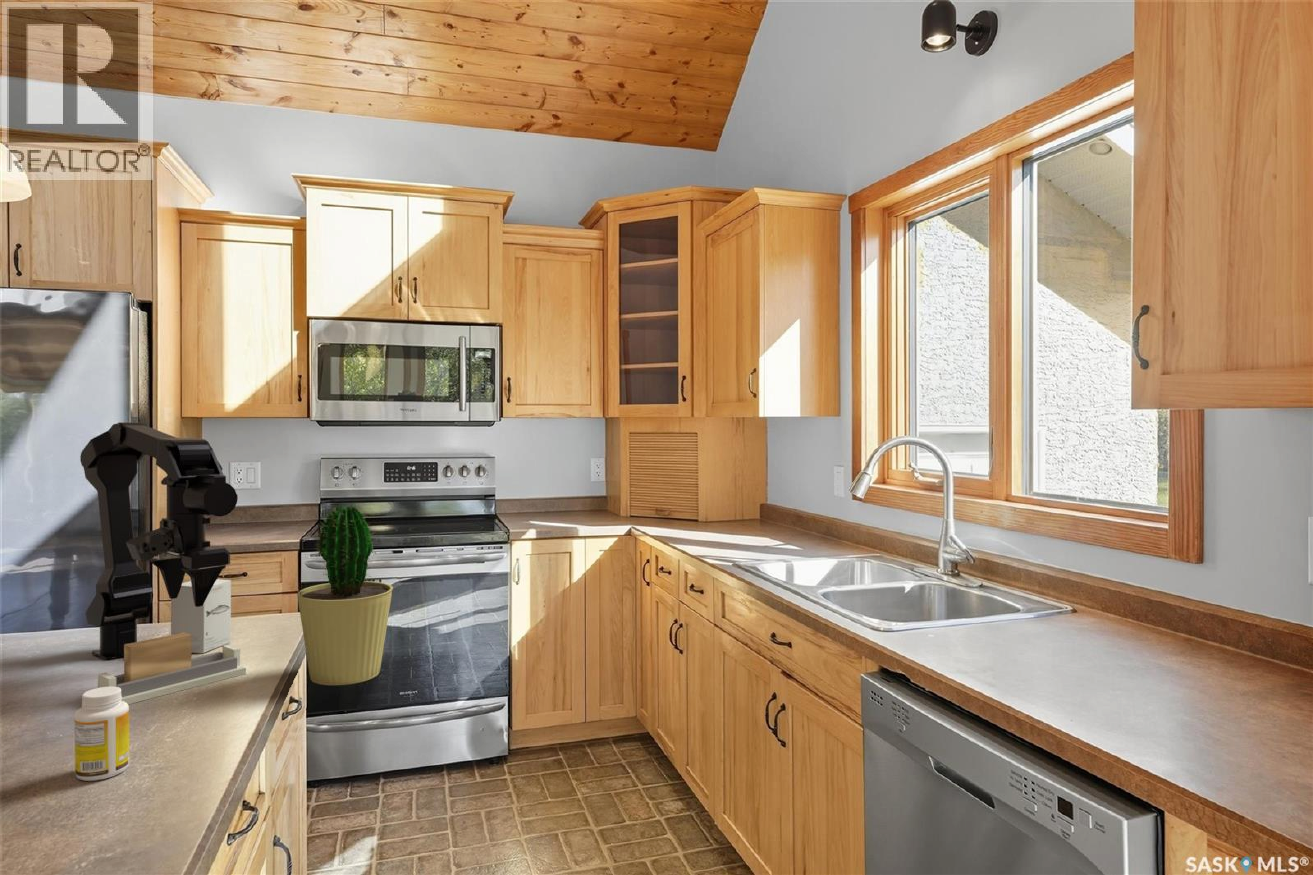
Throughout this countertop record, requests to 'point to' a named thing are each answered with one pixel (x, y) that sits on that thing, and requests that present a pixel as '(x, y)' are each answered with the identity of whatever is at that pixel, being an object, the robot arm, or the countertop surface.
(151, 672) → the door panel
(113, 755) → the supplement bottle
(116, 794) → the countertop surface
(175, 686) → the track board
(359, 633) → the potted cactus
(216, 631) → the supplement box
